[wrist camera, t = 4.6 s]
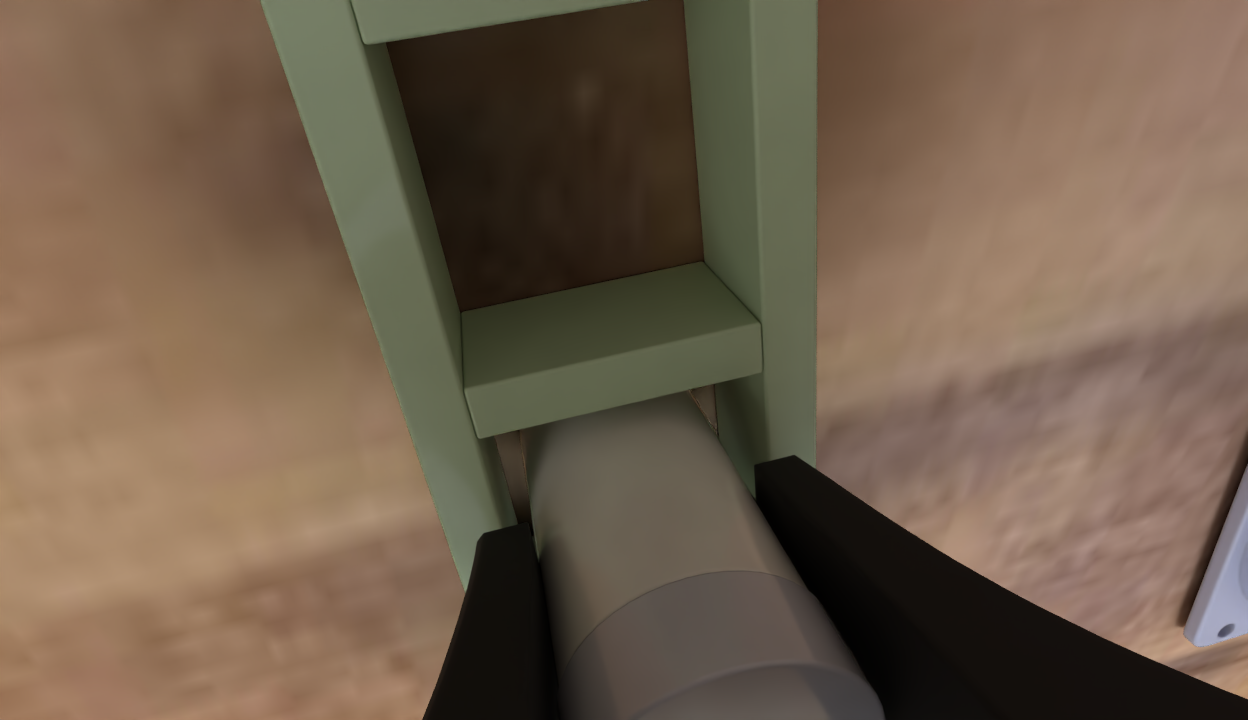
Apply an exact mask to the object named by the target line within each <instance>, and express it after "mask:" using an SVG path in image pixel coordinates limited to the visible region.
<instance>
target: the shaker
mask: <svg viewBox="0 0 1248 720" xmlns="http://www.w3.org/2000/svg"><path fill="white" fill-rule="evenodd" d="M520 447H521V453H522V460H523V466H524V473H525V479H526V486H527V492H528V499H529V505H530V512H531V518H532V525H533V531H534V538H535V544H536V551H537V557H538V562H539V568H540V574H541V580H542V587H543V593H544V600H545V606H546V612H547V619H548V628H549V635H550V642H551V648H552V655H553V661H554V668H555V674H556V681H557V687H558V694H557V706H556V711H557V718H558V720H886V718H885V713H884V709H883V704H882V702H881V700H880V698H879V696H878V694H877V692H876V690H875V689H874V687H873V685H872V684H871V682H870V680H869V679H868V677H867V675H866V674H865V672H864V671H863V669H862V667H861V666H860V664H859V662H858V661H857V659H856V657H855V656H854V654H853V652H852V651H851V649H850V647H849V646H848V644H847V642H846V641H845V639H844V638H843V636H842V634H841V633H840V631H839V629H838V628H837V626H836V624H835V623H834V621H833V619H832V618H831V616H830V614H829V613H828V611H827V609H826V608H825V607H824V605H823V604H822V603H821V602H820V601H819V599H818V598H817V597H815V596H814V595H813V594H812V593H811V591H810V590H809V588H808V586H807V585H806V583H805V581H804V580H803V578H802V576H801V575H800V573H799V571H798V570H797V568H796V566H795V565H794V563H793V561H792V560H791V558H790V556H789V555H788V553H787V551H786V550H785V548H784V546H783V545H782V543H781V541H780V540H779V538H778V536H777V535H776V533H775V531H774V529H773V528H772V526H771V524H770V523H769V521H768V519H767V518H766V516H765V514H764V513H763V511H762V509H761V508H760V506H759V504H758V503H757V501H756V499H755V498H754V496H753V494H752V493H751V491H750V489H749V488H748V486H747V484H746V483H745V481H744V479H743V478H742V476H741V474H740V473H739V471H738V469H737V468H736V466H735V464H734V463H733V461H732V459H731V458H730V456H729V454H728V453H727V451H726V449H725V448H724V446H723V444H722V442H721V441H720V439H719V437H718V436H717V434H716V432H715V431H714V429H713V427H712V426H711V424H710V422H709V421H708V419H707V417H706V416H705V414H704V412H703V411H702V409H701V407H700V406H699V404H698V402H697V401H696V399H695V397H694V396H693V394H692V392H691V391H690V390H686V391H682V392H678V393H673V394H669V395H665V396H661V397H656V398H652V399H648V400H644V401H639V402H635V403H631V404H627V405H622V406H618V407H614V408H610V409H605V410H601V411H597V412H592V413H588V414H584V415H580V416H575V417H571V418H567V419H563V420H558V421H554V422H550V423H546V424H541V425H537V426H533V427H529V428H524V429H520Z"/></svg>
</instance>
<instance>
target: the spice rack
mask: <svg viewBox="0 0 1248 720" xmlns="http://www.w3.org/2000/svg"><path fill="white" fill-rule="evenodd" d="M641 1H647V0H260V2H261V5H262V8H263V11H264V14H265V17H266V20H267V23H268V25H269V28H270V31H271V34H272V37H273V40H274V43H275V46H276V49H277V51H278V54H279V57H280V60H281V63H282V66H283V69H284V72H285V75H286V77H287V80H288V83H289V86H290V89H291V92H292V95H293V98H294V101H295V103H296V106H297V109H298V112H299V115H300V118H301V121H302V124H303V127H304V129H305V132H306V135H307V138H308V141H309V144H310V147H311V150H312V153H313V155H314V158H315V161H316V164H317V167H318V170H319V173H320V176H321V178H322V181H323V184H324V187H325V190H326V193H327V196H328V199H329V202H330V204H331V207H332V210H333V213H334V216H335V219H336V222H337V225H338V228H339V230H340V233H341V236H342V239H343V242H344V245H345V248H346V251H347V254H348V256H349V259H350V262H351V265H352V268H353V271H354V274H355V277H356V280H357V282H358V285H359V288H360V291H361V294H362V297H363V300H364V303H365V306H366V308H367V311H368V314H369V317H370V320H371V323H372V326H373V329H374V331H375V334H376V337H377V340H378V343H379V346H380V349H381V352H382V355H383V357H384V360H385V363H386V366H387V369H388V372H389V375H390V378H391V381H392V383H393V386H394V389H395V392H396V395H397V398H398V401H399V404H400V407H401V409H402V412H403V415H404V418H405V421H406V424H407V427H408V430H409V433H410V435H411V438H412V441H413V444H414V447H415V450H416V453H417V456H418V459H419V461H420V464H421V467H422V470H423V473H424V476H425V479H426V482H427V484H428V487H429V490H430V493H431V496H432V499H433V502H434V505H435V508H436V510H437V513H438V516H439V519H440V522H441V525H442V528H443V531H444V534H445V536H446V539H447V542H448V545H449V548H450V551H451V554H452V557H453V560H454V562H455V565H456V568H457V571H458V574H459V577H460V580H461V583H462V586H463V588H464V591H465V594H466V590H467V586H468V582H469V578H470V574H471V570H472V565H473V561H474V556H475V550H476V544H477V541H478V540H479V538H480V537H481V536H482V534H483V533H485V532H489V531H493V530H497V529H501V528H505V527H509V526H513V525H517V524H518V522H517V519H516V515H515V511H514V508H513V504H512V500H511V497H510V493H509V489H508V486H507V482H506V479H505V475H504V471H503V468H502V464H501V460H500V457H499V453H498V449H497V446H496V442H495V439H494V436H495V435H499V434H503V433H507V432H512V431H516V430H520V429H524V428H529V427H533V426H537V425H541V424H546V423H550V422H554V421H558V420H563V419H567V418H571V417H575V416H580V415H584V414H588V413H592V412H597V411H601V410H605V409H610V408H614V407H618V406H622V405H627V404H631V403H635V402H639V401H644V400H648V399H652V398H656V397H661V396H665V395H669V394H673V393H678V392H682V391H686V390H690V389H695V388H699V387H703V386H707V385H712V384H714V385H715V397H716V409H717V422H718V434H719V439H720V441H721V442H722V444H723V446H724V448H725V449H726V451H727V453H728V454H729V456H730V458H731V459H732V461H733V463H734V464H735V466H736V468H737V469H738V471H739V473H740V474H741V476H742V478H743V479H744V481H745V483H746V484H747V486H748V488H749V489H750V491H751V493H752V494H753V496H754V498H755V499H756V496H755V476H754V465H755V464H759V463H763V462H767V461H771V460H775V459H779V458H783V457H787V456H791V455H796V456H797V457H799V458H800V459H802V460H803V461H805V462H806V463H808V464H809V465H811V466H812V467H814V468H815V469H816V315H817V48H818V0H684V11H685V24H686V36H687V49H688V61H689V74H690V86H691V98H692V111H693V123H694V136H695V148H696V161H697V173H698V186H699V198H700V210H701V223H702V235H703V248H704V260H705V263H704V262H696V263H692V264H687V265H682V266H678V267H673V268H668V269H663V270H659V271H654V272H649V273H644V274H640V275H635V276H630V277H625V278H621V279H616V280H611V281H606V282H602V283H597V284H592V285H588V286H583V287H578V288H573V289H569V290H564V291H559V292H554V293H550V294H545V295H540V296H535V297H531V298H526V299H521V300H516V301H512V302H507V303H502V304H498V305H493V306H488V307H483V308H479V309H474V310H469V311H464V312H462V313H461V315H460V311H459V307H458V304H457V300H456V296H455V293H454V289H453V286H452V282H451V278H450V275H449V271H448V267H447V264H446V260H445V256H444V253H443V249H442V246H441V242H440V238H439V235H438V231H437V227H436V224H435V220H434V216H433V213H432V209H431V205H430V202H429V198H428V195H427V191H426V187H425V184H424V180H423V176H422V173H421V169H420V165H419V162H418V158H417V154H416V151H415V147H414V144H413V140H412V136H411V133H410V129H409V125H408V122H407V118H406V114H405V111H404V107H403V103H402V100H401V96H400V93H399V89H398V85H397V82H396V78H395V74H394V71H393V67H392V63H391V60H390V56H389V52H388V49H387V45H386V42H391V41H397V40H404V39H410V38H416V37H422V36H429V35H435V34H441V33H447V32H454V31H460V30H466V29H472V28H479V27H485V26H491V25H497V24H504V23H510V22H516V21H522V20H529V19H535V18H541V17H547V16H554V15H560V14H566V13H572V12H579V11H585V10H591V9H597V8H604V7H610V6H616V5H622V4H629V3H635V2H641ZM532 539H533V543H534V547H535V551H536V544H535V538H534V536H532ZM536 554H537V551H536ZM537 558H538V557H537Z"/></svg>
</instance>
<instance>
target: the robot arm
mask: <svg viewBox="0 0 1248 720" xmlns="http://www.w3.org/2000/svg"><path fill="white" fill-rule="evenodd" d="M754 476H755V496H756V501H757V503H758V504H759V506H760V508H761V509H762V511H763V513H764V514H765V516H766V518H767V519H768V521H769V523H770V524H771V526H772V528H773V529H774V531H775V533H776V535H777V536H778V538H779V540H780V541H781V543H782V545H783V546H784V548H785V550H786V551H787V553H788V555H789V556H790V558H791V560H792V561H793V563H794V565H795V566H796V568H797V570H798V571H799V573H800V575H801V576H802V578H803V580H804V581H805V583H806V585H807V586H808V588H809V590H810V591H811V593H812V594H813V595H814V596H815V597H817V598H818V599H819V601H820V602H821V603H822V604H823V605H824V607H825V608H826V609H827V611H828V613H829V614H830V616H831V618H832V619H833V621H834V623H835V624H836V626H837V628H838V629H839V631H840V633H841V634H842V636H843V638H844V639H845V641H846V642H847V644H848V646H849V647H850V649H851V651H852V652H853V654H854V656H855V657H856V659H857V661H858V662H859V664H860V666H861V667H862V669H863V671H864V672H865V674H866V675H867V677H868V679H869V680H870V682H871V684H872V685H873V687H874V689H875V690H876V692H877V694H878V696H879V698H880V700H881V702H882V704H883V709H884V713H885V718H886V720H1248V699H1245V698H1243V697H1240V696H1238V695H1235V694H1233V693H1230V692H1227V691H1225V690H1222V689H1220V688H1217V687H1215V686H1213V685H1210V684H1208V683H1206V682H1203V681H1201V680H1198V679H1196V678H1194V677H1191V676H1189V675H1187V674H1184V673H1182V672H1179V671H1177V670H1175V669H1172V668H1170V667H1168V666H1165V665H1163V664H1161V663H1158V662H1156V661H1153V660H1151V659H1149V658H1146V657H1144V656H1142V655H1139V654H1137V653H1135V652H1133V651H1131V650H1128V649H1126V648H1124V647H1122V646H1120V645H1117V644H1115V643H1113V642H1111V641H1109V640H1106V639H1104V638H1102V637H1100V636H1098V635H1096V634H1094V633H1092V632H1090V631H1088V630H1086V629H1084V628H1082V627H1080V626H1078V625H1075V624H1073V623H1071V622H1069V621H1067V620H1065V619H1063V618H1061V617H1059V616H1057V615H1055V614H1053V613H1051V612H1049V611H1047V610H1045V609H1043V608H1041V607H1039V606H1037V605H1035V604H1033V603H1031V602H1029V601H1027V600H1025V599H1024V598H1022V597H1020V596H1018V595H1016V594H1014V593H1012V592H1010V591H1009V590H1007V589H1005V588H1003V587H1001V586H1000V585H998V584H996V583H994V582H993V581H991V580H989V579H987V578H985V577H984V576H982V575H980V574H978V573H977V572H975V571H973V570H971V569H970V568H968V567H966V566H964V565H963V564H961V563H959V562H957V561H956V560H954V559H952V558H951V557H949V556H947V555H946V554H944V553H942V552H941V551H939V550H937V549H936V548H934V547H933V546H931V545H929V544H928V543H926V542H925V541H923V540H921V539H920V538H918V537H917V536H915V535H914V534H912V533H910V532H909V531H907V530H906V529H904V528H903V527H901V526H899V525H898V524H896V523H895V522H893V521H892V520H890V519H889V518H887V517H886V516H884V515H883V514H881V513H880V512H878V511H876V510H875V509H873V508H872V507H871V506H869V505H868V504H866V503H865V502H863V501H862V500H860V499H859V498H857V497H856V496H854V495H853V494H851V493H850V492H848V491H847V490H846V489H844V488H843V487H841V486H840V485H838V484H837V483H835V482H834V481H832V480H831V479H830V478H828V477H827V476H825V475H824V474H822V473H821V472H819V471H818V470H816V469H815V468H814V467H812V466H811V465H809V464H808V463H806V462H805V461H803V460H802V459H800V458H799V457H797V456H796V455H791V456H787V457H783V458H779V459H775V460H771V461H767V462H763V463H759V464H755V465H754ZM1247 633H1248V464H1247V466H1246V469H1245V472H1244V474H1243V477H1242V479H1241V482H1240V485H1239V487H1238V490H1237V492H1236V495H1235V498H1234V500H1233V503H1232V505H1231V508H1230V510H1229V513H1228V516H1227V518H1226V521H1225V523H1224V526H1223V529H1222V531H1221V534H1220V536H1219V539H1218V542H1217V544H1216V547H1215V549H1214V552H1213V555H1212V557H1211V560H1210V562H1209V565H1208V568H1207V570H1206V573H1205V575H1204V578H1203V580H1202V583H1201V586H1200V588H1199V591H1198V593H1197V596H1196V599H1195V601H1194V604H1193V606H1192V609H1191V612H1190V614H1189V617H1188V619H1187V622H1186V625H1185V627H1184V632H1183V635H1184V636H1185V638H1187V639H1188V640H1189V641H1190V642H1191V643H1192V644H1193V645H1195V646H1197V647H1205V646H1209V645H1212V644H1215V643H1218V642H1222V641H1225V640H1228V639H1231V638H1234V637H1238V636H1241V635H1244V634H1247ZM557 694H558V687H557V681H556V674H555V668H554V661H553V655H552V648H551V642H550V635H549V628H548V619H547V612H546V606H545V600H544V593H543V587H542V580H541V574H540V568H539V562H538V558H537V554H536V551H535V547H534V543H533V539H532V535H531V532H530V528H529V524H528V522H525V523H521V524H517V525H513V526H509V527H505V528H501V529H497V530H493V531H489V532H485V533H483V534H482V536H481V537H480V538H479V540H478V541H477V544H476V550H475V556H474V561H473V565H472V570H471V574H470V578H469V582H468V586H467V590H466V594H465V597H464V601H463V604H462V608H461V611H460V615H459V618H458V621H457V625H456V628H455V631H454V634H453V637H452V640H451V643H450V646H449V649H448V652H447V655H446V658H445V661H444V664H443V667H442V670H441V673H440V675H439V678H438V681H437V684H436V686H435V689H434V691H433V694H432V697H431V699H430V702H429V704H428V707H427V709H426V712H425V714H424V717H423V719H422V720H558V718H557V711H556V706H557Z"/></svg>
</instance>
